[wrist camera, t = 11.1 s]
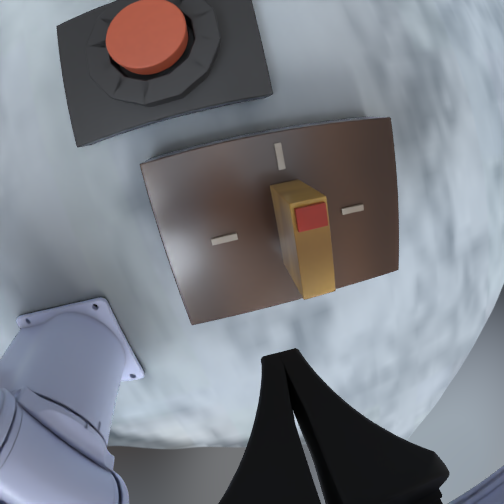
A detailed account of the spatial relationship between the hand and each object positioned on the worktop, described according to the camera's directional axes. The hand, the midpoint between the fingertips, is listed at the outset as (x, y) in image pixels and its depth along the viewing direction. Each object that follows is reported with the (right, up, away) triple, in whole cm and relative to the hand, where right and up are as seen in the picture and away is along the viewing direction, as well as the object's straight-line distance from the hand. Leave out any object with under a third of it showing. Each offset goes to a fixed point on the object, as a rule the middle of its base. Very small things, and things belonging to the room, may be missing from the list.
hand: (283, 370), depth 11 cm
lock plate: (+1, +7, +8) cm, 11 cm away
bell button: (-6, +14, 0) cm, 16 cm away
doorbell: (-6, +16, +4) cm, 17 cm away
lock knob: (+1, +6, +6) cm, 8 cm away
